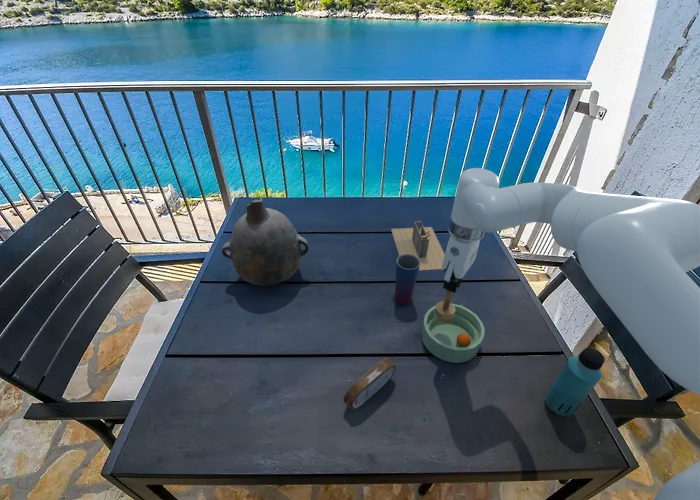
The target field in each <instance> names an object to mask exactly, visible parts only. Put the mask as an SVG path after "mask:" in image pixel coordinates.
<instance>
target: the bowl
mask: <svg viewBox="0 0 700 500" xmlns="http://www.w3.org/2000/svg"><path fill="white" fill-rule="evenodd" d="M452 304H453V306H454V307H455V314H454V317H453V320H452V321H451V322H448V323H443V322H440V321H438V320H437V319H436V318H435V316H434V312H435V308H436V305H437V304H435V305H434V306H432V307H430V308H429V309H428V310H427V312H426V313H425V314H424V317H423V323H422V327H421V331H420V333H421V334H420V336H421V341H422V343H423V345H424V346H425V348H426V350H428V351H429V353H430V354H431V355H433V356H434V357H436V358H438V359H440V360H442V361H445V362H448V363H453V364H454V363H455V364H457V363H459V364H460V363H465V362H468V361H471V360H472V359H473V358H475V357H476V356H477V354H478V353H479V350H480V349H481V346H482V343H483V341H484V339H485V327H484V324H483V322H482V320H481V319H480V318H479V316H478V315H477V314H476V313H474V311H472V310H470V309H469V308H467V307H465V306H463V305H460V304H456V303H452ZM461 333H465V334H467V335H469V337H470V339H471V342H470V344H469V345H468V346H467V347H461V346H460V345H459V344H458V343H457V336H458V335H459V334H461Z"/></svg>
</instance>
